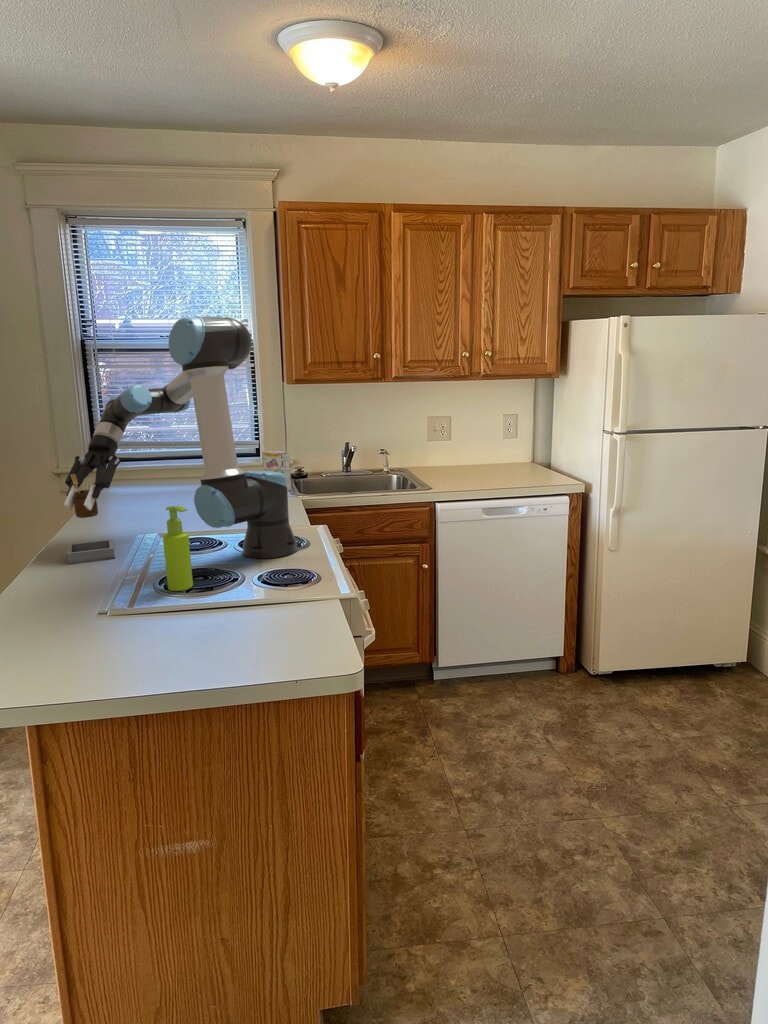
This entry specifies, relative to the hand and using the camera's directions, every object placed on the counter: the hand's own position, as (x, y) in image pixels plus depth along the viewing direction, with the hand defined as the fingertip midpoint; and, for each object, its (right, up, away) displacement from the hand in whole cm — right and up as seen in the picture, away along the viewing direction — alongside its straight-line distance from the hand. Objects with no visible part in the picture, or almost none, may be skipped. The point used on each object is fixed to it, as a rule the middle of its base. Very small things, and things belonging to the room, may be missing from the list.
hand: (77, 507), depth 196 cm
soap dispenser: (+36, -20, -25) cm, 48 cm away
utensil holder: (+1, -3, +4) cm, 5 cm away
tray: (+1, -14, +7) cm, 16 cm away
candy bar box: (+40, +7, +101) cm, 109 cm away
